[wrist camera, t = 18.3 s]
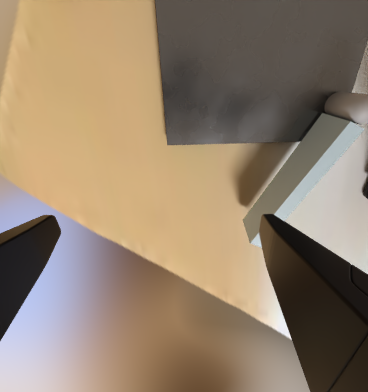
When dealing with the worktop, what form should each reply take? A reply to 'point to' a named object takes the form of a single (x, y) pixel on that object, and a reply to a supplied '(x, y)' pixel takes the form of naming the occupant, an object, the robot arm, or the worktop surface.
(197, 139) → the console
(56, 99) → the worktop surface
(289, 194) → the door
